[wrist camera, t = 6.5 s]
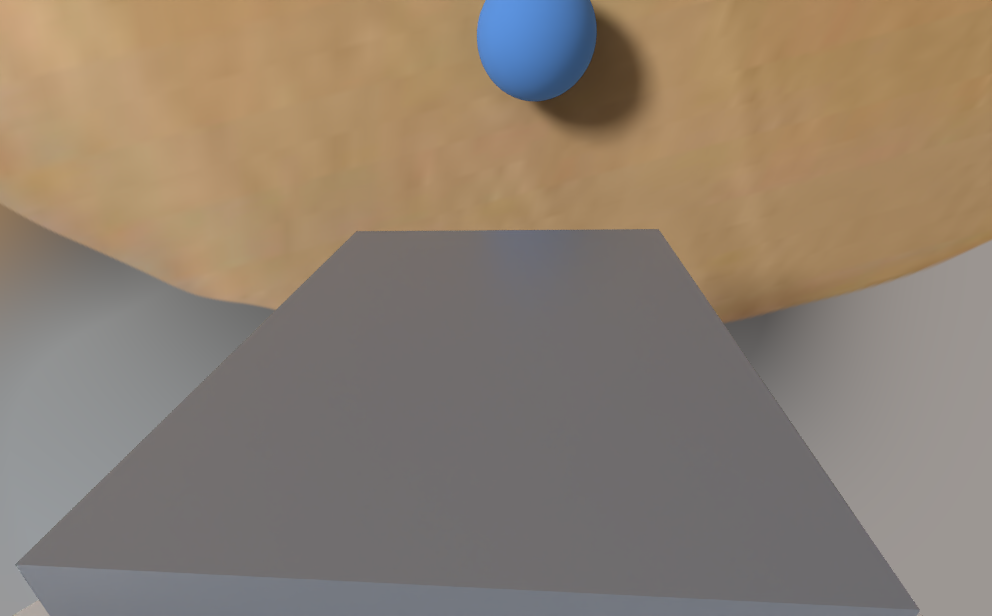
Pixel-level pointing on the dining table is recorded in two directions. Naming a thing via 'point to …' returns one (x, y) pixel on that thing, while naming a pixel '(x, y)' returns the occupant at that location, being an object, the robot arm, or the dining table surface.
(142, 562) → the balanced grey cube
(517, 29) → the ball
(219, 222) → the dining table surface
